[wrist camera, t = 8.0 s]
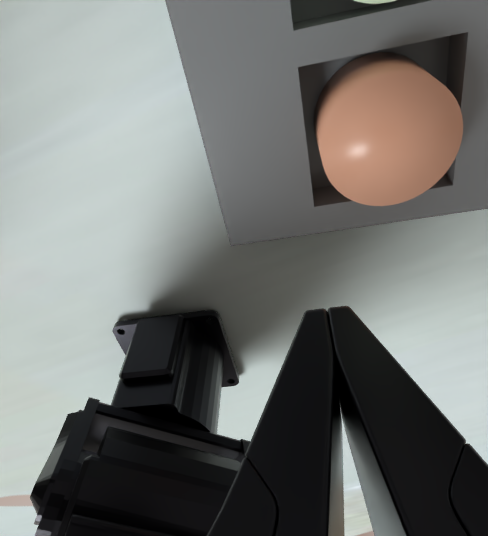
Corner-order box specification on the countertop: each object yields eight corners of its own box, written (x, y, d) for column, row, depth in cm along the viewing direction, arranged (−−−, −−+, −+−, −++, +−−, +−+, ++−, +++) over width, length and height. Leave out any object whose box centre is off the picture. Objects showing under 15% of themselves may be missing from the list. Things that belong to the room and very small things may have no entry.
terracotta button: (430, 161, 18) (456, 195, 15) (319, 179, 18) (327, 214, 16) (438, 39, 15) (470, 57, 13) (307, 66, 16) (314, 88, 13)
